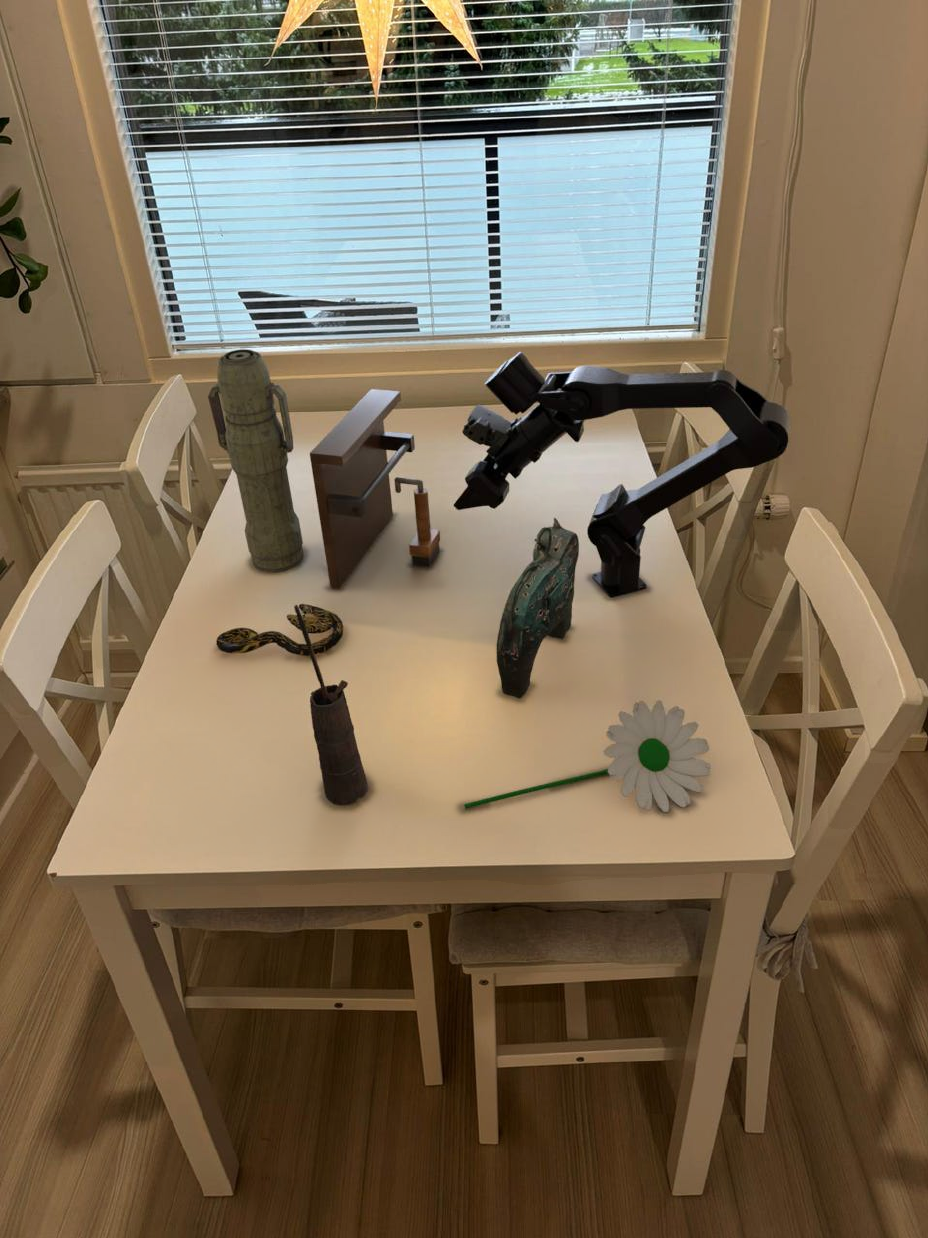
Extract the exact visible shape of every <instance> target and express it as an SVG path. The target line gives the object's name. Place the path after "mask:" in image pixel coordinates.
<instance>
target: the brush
mask: <svg viewBox="0 0 928 1238" xmlns="http://www.w3.org/2000/svg"><path fill="white" fill-rule="evenodd" d="M393 480H394V491H395V492H396V494H400V493H401V492H402V484H403V485H411V486H417V488H415V489H414V490H413V499H414V500H413V501H414V511H415V522H416V524H415V525H416V534H415V535H414V537H413V538H412V539H411V541H410V543H409V544H408V549H409V556H411V564H412V566H415V567H416V566H417V567H423V568H430V567H431V566H432V565H433V563H434V561H435V560H436V559H437V556H438V554H439V552H440V542H441V530H440V529H433V528H431V516H430V503H429V501H430V500H429V491H428V489H427V488H425V487H424V481H423V480H422V479H417V478H409V477H398V476H397V477H395V478H394V479H393Z"/></svg>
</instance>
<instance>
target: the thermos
mask: <svg viewBox="0 0 928 1238" xmlns="http://www.w3.org/2000/svg"><path fill="white" fill-rule="evenodd" d="M216 378H217V384H215V385H214V386H213V387H211V389H210V391H209V393H208V396H207V399H208V403H209V406H210V411H211V414H212V418H213V422H214V427H215V430H216V434H217V439H218V446H219V447H221V448H222V449H223V450H224V451H225V452H227V454H228V458H229V462H230V466H231V469H232V471H233V472H234V473H235V475H236V479H237V483H238V484H237V485H238V488H239V494H240V499H241V504H242V509H243V513H244V518H245V527H244V534H245V539H246V543H247V548H248V552H249V554H251V563H252V566H253V567H254V568H255V569H256V570H258V571H260V572H264V573H273V574H274V573H283V572H286V571H289V570H292V569H294V568H296V567H298V566H299V565H300V564H301V563H302V562H303V561H304V558H305V554H304V553H305V552H304V549H303V544H304V541H303V536H302V530H301V523H300V518H299V516H298V515H297V513H296V511H295V509H294V503H293V497H292V492H291V491H292V490H291V487H290V485H291V484H290V480H289V474H288V468H287V466H288V463H289V456H288V453H292V452H293V450H294V436H293V429H292V423H291V417H290V411H289V406H288V400H287V393H286V392H285V391H284V390H283V388H282V387H281V386H280V385H278V384H275V383H274V382H271V376H270V370H269V367H268V366H267V364H266V362H265V361H264V359H263V357H262V354H261V353H259V352H258V351H255V350H252V349H247V348H245V349H244V348H243V349H241V348H240V349H235V350H231V351H229V352H226V353H225V354H223V355H222V356H220V358H219V359H218V366H217V375H216ZM274 396H275V397H276V398H277V400H278V405H279V411H280V412H279V413H280V417H281V421H280V419H279V418H278V416H277V410H276V409H275V406H274V405H275V399H274ZM220 398H221V399H220ZM223 411H224V412H225V417H224V413H223ZM281 423H282V424H281Z"/></svg>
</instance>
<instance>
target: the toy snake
mask: <svg viewBox="0 0 928 1238" xmlns="http://www.w3.org/2000/svg"><path fill="white" fill-rule="evenodd" d="M298 608H299V610H300V612H301V615H302V618H303V620H304V622H305V625H306V628H307V631H308V634H311V635H314V634H323V633H326V632H328V631H330V630H331V629H332V633H330V634H329V635H328V636H326V637H323V638H322V639H320V640H318V641H315V642H311V644H312V647H313V651H314V654H315V656H316V655H319V654H323V653H327V652H328V651H330V650H331V649H332V648H333V647H335V646H337V644H338V643H339V642H340V641H341V639H343V636H344V624H343V621H342V619H341V618H340V617H339V616H338V615H337V614H336V613H334V612H332V611H329V610H327V609H324V608H322V607H319V606H316V605H311V604H307V603H300V604H299V605H298ZM286 619H287V621H288V622H289V623H290V625H292V626H294V627H295V629H297V630H299V631H301V632H302V630H301V628H300V625H299V622H298V619H297V614H291V613H290V614H287V615H286ZM215 644H216V646H217V648H218V650H219V651H221V652H223V653H226V654H232V655H236V654H246V653H250V652H254V651H256V650H258V649H259V648H262V647H264V646H266V645H270V644H276V646H278V647H280V648H282V649H284V651H286V652H287V653H290V654H292V655H297V656H301V657H302V656H303V657H310V654H309V651H308V648H307V645H306V643H299V642H297V641H295V640H293V639H292V638H290V637H289V636H287V635H286V634H283V633H282V632H280V631H276V630H268V631H264V632H263V631H262V632H261V633H258V632H257V631H256V630H254V629H251V628H249V627H236V628H231V629H230V630H229V629H228V630H226V631H224V632H222V633H220V634H219V635H218V636H217V638H216V643H215Z"/></svg>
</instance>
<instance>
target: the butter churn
mask: <svg viewBox="0 0 928 1238" xmlns="http://www.w3.org/2000/svg"><path fill="white" fill-rule="evenodd" d="M293 607H294V608H293V609H294V612H295V615H297V619H298V622H299V625H300V628H301V630H302V631H301V630H300V631H301V634H302V636H303V639H304V643H305V644H306V645H307V648H308V651H309V654H310V656H309V657H310V660H311V663H312V667H313V669H314V672H315V675H316V678H317V681H318V682H319V686H320V687H319V688H317V689H315V690H314V691H311V693H310V697H309V704H310V715H311V723H312V724H311V725H312V729H313V737H314V741H315V744H316V749H317V753H318V760H319V769H320V771H321V779H322V785H323V790H324V795H325V798H326V799H327V801H329V802H330V803H331V804H333V805H336V806H346V805H347V806H348V805H353V804H356V803H357V801H358V799H359V798H364V797H365V796H366V795H367V793H368V791H369V784H368V783H369V782H368V779H367V776H366V772H365V769H364V765H363V762H362V759H361V754H360V752H359V748H358V743H357V740H356V736H355V727H354V724H353V722H352V718H351V713H350V710H349V709H350V708H349V705H348V702H347V698H346V694H345V691H344V690H345V689H346V688H347V687H348V685H349V683H348V682H347V681H346V680H343V679H341V681H340V682H339V683H338V684H331V685H330V684H328V685H325V682H324V678H323V674H322V673H321V669H320V665H319V664H318V663H319V662H318V660H317V657H316V655H315V654H314V651H313V647H312V641H311V638H310V635H309V634H310V633H308V631H307V628H306V625H305V622H304V620H303V618H302V615H303V614H302V612H301V610H300V608H299V605H298V604H295V605H294V606H293Z"/></svg>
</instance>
